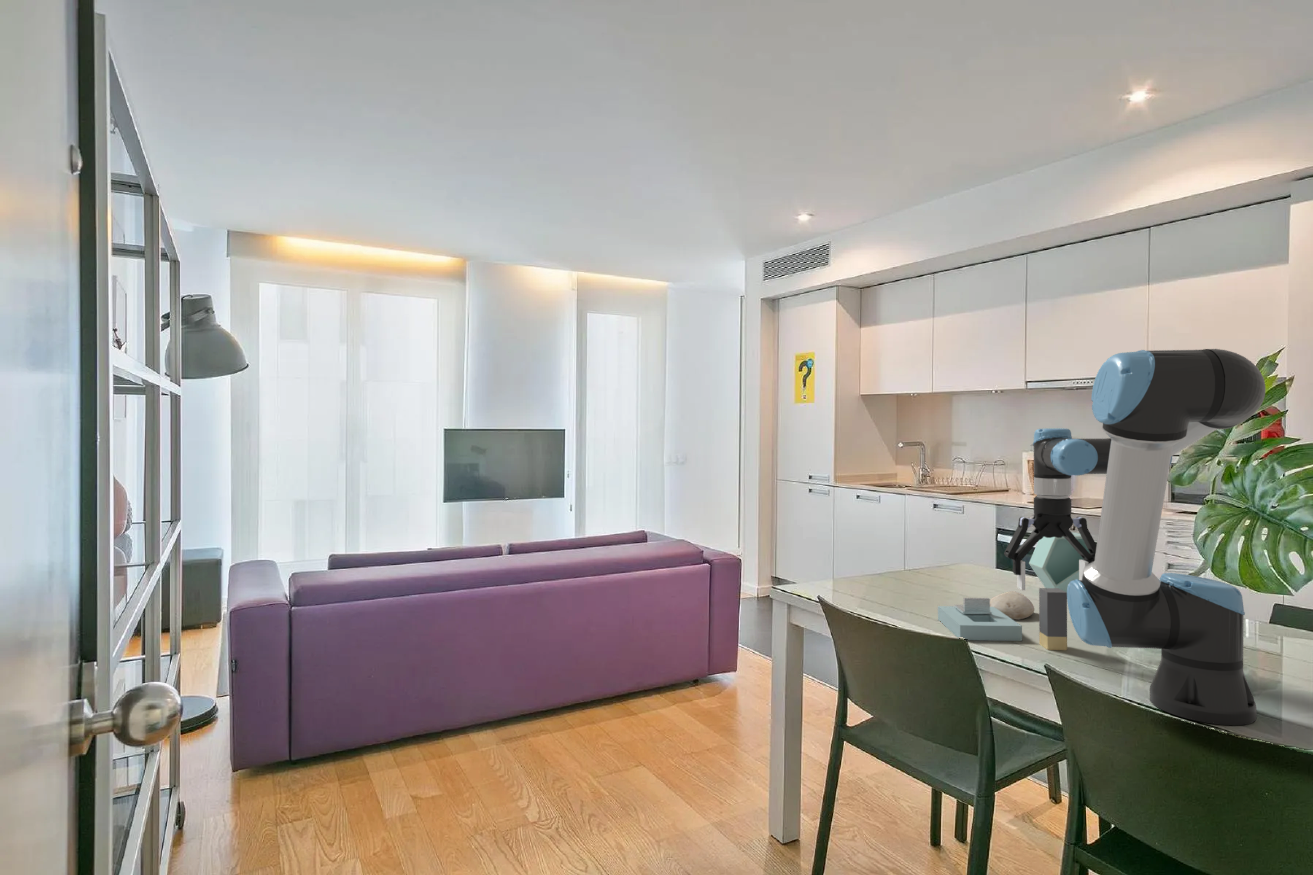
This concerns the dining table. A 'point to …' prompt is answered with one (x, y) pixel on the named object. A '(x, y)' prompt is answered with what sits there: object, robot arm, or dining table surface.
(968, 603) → the shutter
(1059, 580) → the planter
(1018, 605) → the stone
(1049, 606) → the plug
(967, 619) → the socket board
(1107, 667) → the dining table surface
